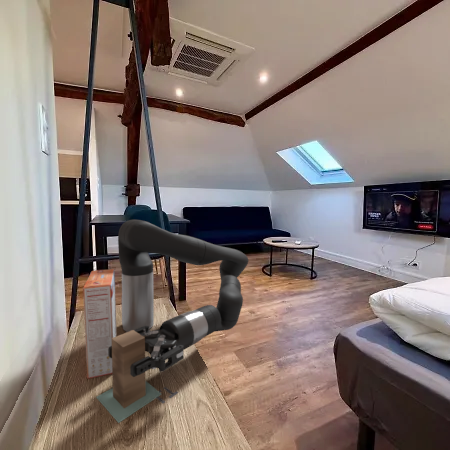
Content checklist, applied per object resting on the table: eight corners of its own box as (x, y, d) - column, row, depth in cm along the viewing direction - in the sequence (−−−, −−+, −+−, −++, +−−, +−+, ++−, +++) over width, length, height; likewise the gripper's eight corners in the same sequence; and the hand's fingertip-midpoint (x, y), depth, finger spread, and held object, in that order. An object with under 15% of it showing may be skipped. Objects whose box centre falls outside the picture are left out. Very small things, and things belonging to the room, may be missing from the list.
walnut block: (112, 396, 50) (111, 338, 49) (133, 384, 54) (133, 329, 53) (124, 408, 48) (122, 347, 47) (145, 395, 51) (144, 337, 50)
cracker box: (93, 346, 68) (90, 269, 66) (117, 342, 70) (116, 268, 68) (84, 380, 55) (81, 286, 53) (115, 374, 57) (112, 283, 55)
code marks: (152, 395, 51) (152, 394, 51) (168, 385, 54) (168, 384, 54) (162, 404, 49) (162, 403, 49) (178, 393, 52) (178, 392, 52)
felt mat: (96, 397, 50) (96, 396, 50) (137, 374, 57) (137, 374, 57) (118, 423, 44) (118, 422, 44) (161, 394, 51) (161, 393, 51)
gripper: (205, 357, 57) (139, 399, 44) (166, 335, 66) (103, 364, 54) (205, 324, 56) (139, 358, 44) (166, 307, 65) (102, 330, 53)
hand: (119, 361), depth 49 cm, fingers open, 8 cm apart
